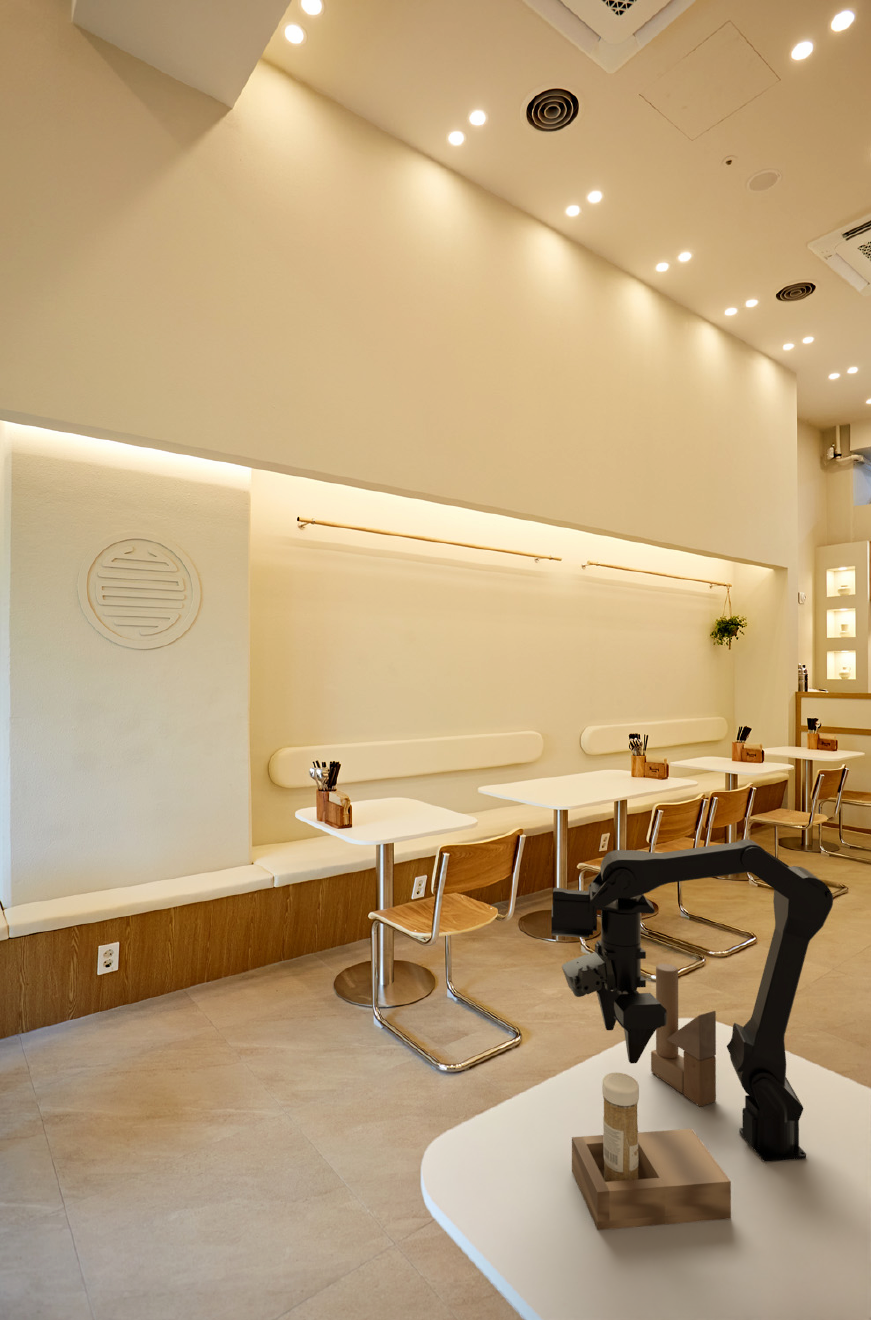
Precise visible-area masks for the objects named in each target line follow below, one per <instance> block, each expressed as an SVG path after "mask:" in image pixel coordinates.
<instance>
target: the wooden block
mask: <svg viewBox="0 0 871 1320" xmlns="http://www.w3.org/2000/svg"><path fill="white" fill-rule="evenodd" d="M655 998H656V999H657V1000H658V1001H659V1002H660V1004H661V1005H662V1006H663V1007H664V1008H665V1009H666V1010H667V1024H666V1025H665V1026H662V1027H660V1028H657V1029H656V1031H655V1049H653V1050H651V1052H650V1071H651V1073H652V1074H654V1076H657V1078H660V1079H661V1080H662V1081H664V1082H665V1083H666V1084H667V1085H669V1086H671V1087H672V1088H674V1089H675V1090H676V1091H677V1092H678V1093H681V1094H683V1096H684V1097H685V1098H687V1099H688V1100H690V1101H691V1102H692V1103H693V1104H695V1105H697V1106H698V1107H704V1106H706V1105H709V1104H712V1103H715V1102H716V1100H717V1083H716V1082H717V1074H716V1073H717V1070H716V1069H717V1065H716V1064H717V1060H716V1059H717V1058H716V1055H717V1040H716V1039H717V1036H716V1035H717V1025H716V1024H717V1022H716V1021H717V1011H716V1010H712V1011H708V1012H705V1013H701V1014H699V1015H697V1016H696V1017H694V1018H693V1019H692V1020H691V1021H689V1022H688V1023H685V1025H683V1026H682V1027H681V1028H680V1029H679V969H678V967H677V966H676V965H673V964H670V963H659V964H657V965H656V966H655ZM679 1049H681V1050H683V1056H682V1055H680V1054H679Z"/></svg>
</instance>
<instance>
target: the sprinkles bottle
mask: <svg viewBox="0 0 871 1320" xmlns="http://www.w3.org/2000/svg"><path fill="white" fill-rule="evenodd" d="M601 1087H602V1090H601V1091H602V1093H601V1094H602V1097H603V1117H602V1118H603V1119H602V1121H603V1122H602V1123H603V1126H602V1127H603V1128H602V1131H603V1132H602V1133H603V1134H602V1135H603V1146H604V1181H605V1182H612V1181H625V1180H638V1133H639V1126H638V1103H639V1099H640V1085H639V1082H638V1081H637V1080H636V1079H635V1078H634V1077H633V1076H630V1075H629V1074H627V1073H624V1072H623V1073H622V1072H610V1073H608V1074H606V1075H604V1077H603V1079H602V1086H601Z"/></svg>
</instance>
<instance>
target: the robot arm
mask: <svg viewBox="0 0 871 1320" xmlns="http://www.w3.org/2000/svg"><path fill="white" fill-rule="evenodd" d="M599 867H600V868H599V869H600V870H599V872H598V874H597V875H596V876H595V877H594V878H593V880H592V881H591V882H590V883H589V885H588V886H587V890H580V889H578V890H577V889H566V888H564V887H553V889H552V905H551V922H550V923H551V929H550V930H551V936H556V937H557V936H558V937H571V938H573V937H574V938H582V939H583V938H586V939H590V936H593V935H594V932H597V931H598V911H600V940H596V943H594V952H591V953H586V954H584V955H581V956H579V957H576V958H574V959H571V960H570V961H566V962H565V963H563V964H562V965H561V969H562V972H563V974H564V977H565V980H566V984H567V985H568V986H567V987H568V988H569V989H570V990H571V991H572V992H573V995H574V996H575V997H577V998H580V997H581V998H582V997H585V996H586V995H590V994H593V993H596V996H597V999H598V1004H599V1007H600V1012H601V1015H602V1020H603V1024H604V1028H605V1030H606V1031H613V1030H614V1028H615V1026H616V1023H618V1024H619V1026H621V1028H623V1032H624V1039H625V1047H626V1052H627V1060H628V1062H629V1064H637V1063H638V1062H639V1060H640V1058H641V1057H642V1054H643V1052H644V1050H645V1049H646V1047H647V1045H648V1044H649V1042H650V1040H651V1038H652V1037H653V1035H654V1033H656V1029H657V1028H660V1027H662V1026H665V1025H666V1024H667V1010H666V1009H665V1008H664V1007H663V1006H662V1005H661V1004H660V1002H659V1001H658V1000H657V999H656V996H654V995H653V994H652V993H651V992H642V993H641V992H639V991H638V988H646V987H647V985H646V984H647V980H646V979H645V978H644V977H643V976H642V971H641V970H642V969H641V968H642V966H641V964H642V961H641V960H645V959H647V952H646V950H644V949H643V948H642V939H641V934H642V933H641V932H642V931H641V929H642V927H641V926H642V924H641V922H642V921H641V919H642V918H641V915H642V914H651V915H653V914H655V913H656V912H655V908H654V906H653V902H651V900H649V899H648V898H647V897H646V896H645V895H644V894H648V893H650V892H652V891H654V890H656V889H658V888H661V886H665V885H667V884H673V883H679V882H680V883H681V882H686V881H694V880H701V879H708V878H717V877H723V876H730V875H737V874H738V875H740V874H744V873H745V874H746V873H751V874H752V875H754V876H755V877H757V878H758V879H759V880H761V881H763V882H764V883H765V884H766V885H768V886H769V887H771V888H772V889H773V902H772V903H773V911H774V912H773V913H774V923H775V924H774V930H773V933H772V936H771V937H772V938H771V941H770V944H769V950H768V953H767V956H766V960H765V964H764V967H763V968H764V969H763V972H762V976H761V979H760V984H759V987H758V991H757V995H756V998H755V1003H754V1005H753V1010H752V1014H751V1017H750V1019H749V1020H748V1021H747V1022H746V1023H745V1024H744V1026H742V1025H740V1024H738V1023H736V1022H734V1023H733V1025H732V1033H731V1034H732V1035H731V1038H730V1041H729V1042H728V1043H727V1044H726V1049H727V1050H728V1053H729V1058H730V1061H731V1065H732V1067H733V1069H734V1071H735V1074H736V1076H737V1078H738V1080H739V1082H740V1084H741V1087H742V1088H743V1089H744V1092H745V1093H746V1094H747V1095H745V1096H744V1105H745V1106H744V1107H743V1108H742V1110H741V1111H742V1115H741V1116H742V1119H741V1120H742V1121H741V1122H742V1127H740V1128H739V1130H738V1133H739V1134H740V1135H741V1136H742V1138H743V1140H745V1141H746V1143H747V1144H748V1145H749V1146H750V1147H751V1149H753V1151H754V1152H755V1153H756V1154H757V1156H758V1157H759V1158H760V1159H761V1161H763V1162H766V1163H767V1162H779V1161H793V1160H804V1159H805V1160H806V1159H807V1153H806V1152H805V1151H804V1150H803V1149H802V1147H800V1134H799V1133H800V1128H799V1127H800V1119H801V1116H802V1114H803V1112H804V1106H803V1104H802V1103H801V1100H800V1099H799V1097H798V1095H797V1094H796V1092H795V1090H794V1089H793V1086H792V1085H791V1083H790V1081H789V1080H788V1078H787V1057H786V1055H787V1054H786V1047H785V1046H786V1045H785V1036H786V1035H785V1034H786V1031H787V1027H788V1025H789V1024H788V1023H789V1020H790V1016H791V1013H792V1009H793V1005H794V1000H795V998H796V997H795V996H796V993H797V990H798V986H799V982H800V980H801V979H800V978H801V974H802V971H803V966H804V963H805V959H806V956H807V955H806V954H807V952H808V948H809V944H810V942H811V940H812V939H813V938H814V937H815V935H817V933H818V932H820V930H821V929H823V927H824V925H825V923H826V921H827V919H828V917H829V915H830V912H831V910H832V908H833V905H834V895H833V893H832V891H831V889H830V888H829V887H828V885H827V883H825V882H823V880H821V879H820V878H818V877H817V876H816V875H814V874H813V873H812V872H811V871H809V870H808V869H806V868H804V867H803V866H799V865H798V866H797V865H793V866H789V865H788V864H787V863H785V862H784V861H782V860H781V859H779V858H778V857H776V856H774V855H773V854H771V853H770V852H768V851H766V850H765V849H764V848H763V847H761V846H760V845H759V844H758V843H757V842H755V841H754V840H752V839H750V838H749V839H745V838H743V839H741V840H739V841H738V840H737V841H736V842H729V843H721V844H715V845H714V844H713V845H707V846H700V847H694V848H687V849H680V850H672V851H671V850H670V851H666V852H665V851H664V852H651V851H650V852H649V851H643V850H637V849H636V850H635V849H634V850H633V849H631V850H630V849H629V850H628V849H616V850H615V849H614V850H612V851H609V852H608V853H606V854H605V856H604V857H603V858H602V860H601V864H600V865H599Z"/></svg>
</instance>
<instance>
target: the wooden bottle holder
mask: <svg viewBox="0 0 871 1320" xmlns="http://www.w3.org/2000/svg"><path fill="white" fill-rule="evenodd" d="M571 1173H572V1175H573V1178H574V1179H575V1182H576V1184H577V1187H578V1189H579V1192H580V1193H581V1195H582V1198H583V1200H584V1202H585V1204H586V1207H587V1210H588V1213H589V1214H590V1216H591V1219H592V1221H593V1223H594V1225H595V1228H596V1230H597V1231H602V1230H603V1231H604V1230H614V1229H625V1228H639V1227H650V1226H662V1225H671V1224H673V1225H674V1224H683V1223H685V1224H686V1223H696V1222H707V1221H708V1222H709V1221H716V1220H717V1221H719V1220H730V1219H732V1196H731V1195H732V1194H731V1193H732V1191H731V1190H732V1181H731V1180H730V1178H729V1177H728V1175H727V1174H726V1173H725V1172H724V1171H723V1169H722V1167H721V1166H720V1165H719V1163H718V1162H717V1161H716V1160H715V1157H713V1155H712V1154H711V1152H710V1151H709V1150H708V1149H707V1147H706V1146H705V1145H704V1143H703V1142H702V1141H701V1139H700V1138H699V1136H698V1135H697V1134H696V1133H695V1130H694V1129H692V1128H685V1129H684V1128H683V1129H671V1130H657V1131H654V1130H653V1131H643V1132H639V1131H638V1180H625V1181H612V1182H605V1181H604V1146H603V1134H600V1135H599V1134H598V1135H586V1136H585V1135H584V1136H572V1137H571Z"/></svg>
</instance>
